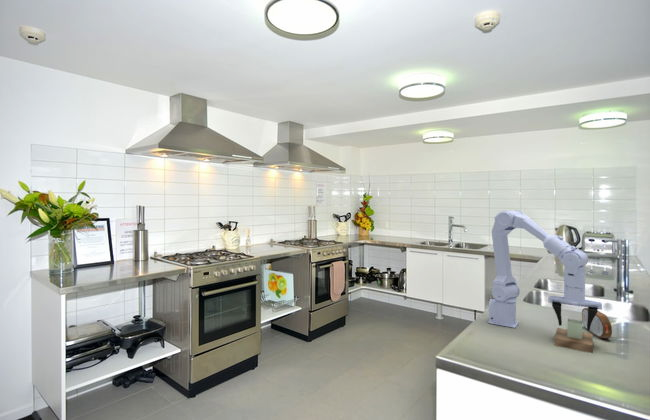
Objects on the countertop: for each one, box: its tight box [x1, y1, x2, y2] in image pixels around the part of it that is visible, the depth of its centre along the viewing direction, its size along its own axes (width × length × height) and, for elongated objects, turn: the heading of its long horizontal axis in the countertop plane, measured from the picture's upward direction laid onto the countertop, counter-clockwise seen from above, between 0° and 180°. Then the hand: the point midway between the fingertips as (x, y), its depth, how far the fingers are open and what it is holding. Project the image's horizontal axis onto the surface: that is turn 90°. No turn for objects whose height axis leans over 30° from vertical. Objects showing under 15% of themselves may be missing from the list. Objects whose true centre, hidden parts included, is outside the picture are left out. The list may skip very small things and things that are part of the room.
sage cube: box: [566, 318, 583, 339], centre depth 118 cm, size 4×4×5 cm
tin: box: [581, 307, 613, 339], centre depth 127 cm, size 15×3×8 cm, turn 168°
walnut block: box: [554, 327, 594, 354], centre depth 118 cm, size 10×12×3 cm
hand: (574, 327), depth 118 cm, fingers open, 7 cm apart
